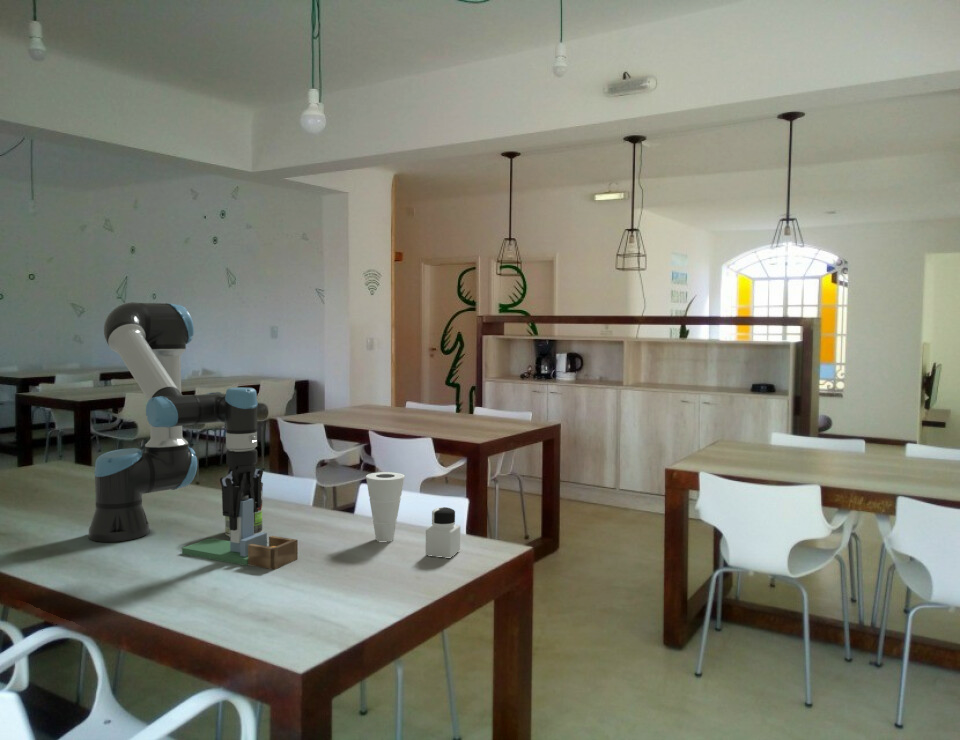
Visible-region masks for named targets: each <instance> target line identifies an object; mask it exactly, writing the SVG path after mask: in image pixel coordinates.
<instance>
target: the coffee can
mask: <svg viewBox="0 0 960 740" xmlns="http://www.w3.org/2000/svg"><path fill="white" fill-rule="evenodd" d="M236 487H239V486H236ZM263 487H264V483H263V482H262V481H261V507H260V508H257V509H259V511H258V512H255V523H254V535H255V534H258V533H261V532H264V529H263ZM242 494H243V490H242ZM255 503H257V502H255ZM224 517H225V518H224V523H225V525H224V526H225V528H224V529H225V531H224V532H225V533H224V535H225V536H227V537H229V538H230V528H229V525H230V524H229V517H227V516H224Z"/></svg>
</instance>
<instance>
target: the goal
mask: <svg viewBox="0 0 960 740" xmlns="http://www.w3.org/2000/svg"><path fill="white" fill-rule="evenodd" d="M298 544H299V543H298V539H295V538H289V537H282V536H276V535H270V536H268V546H262V545H256V544H250V545H248V565H247V566H252V567H258V568H263V569H269V570H274V571H275V570H277V569H279V568H281V567H284V566H286V565H288V564H290V563H292V562H295V561H297V560H298V554H299V553H298V549H299V548H298ZM271 546H276V547H271Z"/></svg>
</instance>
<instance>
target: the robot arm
mask: <svg viewBox="0 0 960 740" xmlns="http://www.w3.org/2000/svg"><path fill="white" fill-rule="evenodd" d="M194 329H195V327H194V321H193V318H192V316H191V314H190V312H189V311H188V309H187V308H186V307H185V306H183V305H181V304H175V303H168V302H166V303H159V302H156V303H155V302H135V301H134V302H126V303H122V304H121V305H118V306H116V307H115V308H114V309H113V310H111V312H110V313H109V314H108V315H107V317H106V319H105V322H104V325H103V336H104V338H105V342H106V344H107V345H108V347H109V348H110V350H111V351H113V352H114V353H116V354H118V356H120V358H121V360H122V361H123V363H124V364H125V366H126V368H127V370H128V371H129V372H130V374H131V376H132V377H133V379H134V380H135V383H136V384H137V385H138V387H139V389H140V390H141V391H142V393H143V394H144V396H145V398H146V400H147V403H146V406H145V415H146V416H147V418H146V419H147V420H146V421H147V422H148V423H149V427H150V429H149V430H150V431H149V433H150V435H149V436H150V437H149V438H150V439H149V440H148V441H147V442H146V443H145V444H144V452H142V450H141V449H140V448H137V447H130V448H129V447H128V448H121V449H115V450H111V451H108V452H107V451H106V452H104V453H102V454H101V455H99V456H98V457H97V458H96V459H95V464H94V465H95V466H94V467H95V468H94V473H93V474H94V481H95V482H94V485H95V486H94V487H95V490H94V491H95V494H94V497H95V498H94V499H95V500H94V501H95V510H94V514H93V517H92V520H91V523H90V526H89V528H88V539H89V540H91V541H93V542H100V543H116V542H125V541H131V540H135V539H136V540H137V539H139V538H142V537H146V535H148V534H149V532H150V522H149V521H148V519H147V514H146V512H145V509H144V507H143V495H144V494H151V493H156V492H163V491H169V490H171V491H174V490H177V489H181V488H185V487H188V486H189V485H190V484H191V483H192V482H193V481H194V479H195V476H196V474H197V469H198V458H197V456H196V452H195V450H194V449H193V448H192V447H189V442H188V441H187V439H185V438H184V437H183V426H192V425H203V424H204V425H205V424H214V423H215V424H216V423H223V424H225V448H226V449H227V450H226V452H225V453H226V454H225V455H226V457H225V458H226V459H225V461H226V462H225V463H226V465H227V466H228V471H227V475H226V476H225V477H220V478H219V483H220V485H221V486H220V487H221V504H222V506H221V507H222V516H224V517H225V516H227V517H229V524H230V525H229V528H230V530H231V542H234V543H240V540H241V517H238V516H239V509H240V501H241V494H242V490H243V494H246V495H249V498H251V499H254V523H255V512H258V511H259V509H257V508H260V507H261V482H262V478H263V474H264V470H263V469H257V468H256V466H255V465H256V464H257V463H258V450H257V448H256V447H258V405H259V403H258V398H257V394H258V393H257V390H256V389H255V388H253V387H230V388H227V389H226V390H225V393H222V392H219V391H216V392H208V393H206V394H204V393H203V394H185V395H183V394H182V370H181V367H182V366H181V355H183V354H184V352H185V351H186V347H187V346H186V345H188V344H190V343H191V342H192V340H193V337H194V333H195V330H194ZM236 486H239V487H236ZM255 502H257V503H255Z"/></svg>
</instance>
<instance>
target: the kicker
mask: <svg viewBox="0 0 960 740" xmlns="http://www.w3.org/2000/svg"><path fill="white" fill-rule="evenodd" d="M238 517H241V540H240V543H234V542H231V530H230V537H229V538H230V539H229V541H230V551H233V552H239V553H240V556H243V557H246V556H248V545H250V544H256V545H262V546H267V545H268V542H267V541H268V537H267V536H268V535H267V534H268V533H267V532H264V531H263V532H261V533H258V534H255V535H254V499H251V498H249V495H246V494H241V501H240V509H239V516H238Z"/></svg>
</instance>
